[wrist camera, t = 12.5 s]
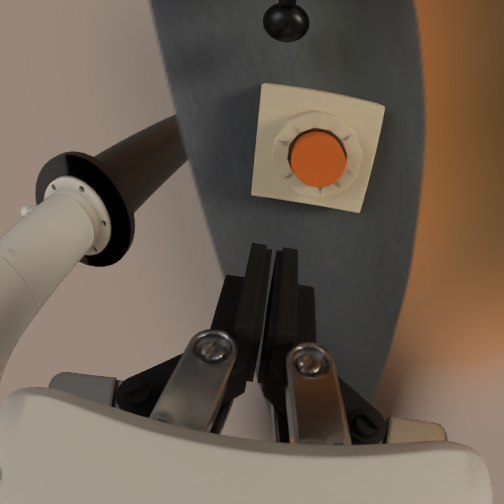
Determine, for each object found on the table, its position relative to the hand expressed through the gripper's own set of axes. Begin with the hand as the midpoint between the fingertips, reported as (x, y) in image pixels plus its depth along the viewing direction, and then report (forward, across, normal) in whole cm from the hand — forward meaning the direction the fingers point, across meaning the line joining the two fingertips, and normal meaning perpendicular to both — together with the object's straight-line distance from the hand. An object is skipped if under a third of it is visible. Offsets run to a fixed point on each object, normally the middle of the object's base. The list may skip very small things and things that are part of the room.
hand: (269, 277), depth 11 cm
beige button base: (+18, -3, -1) cm, 18 cm away
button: (+14, -3, -1) cm, 14 cm away
